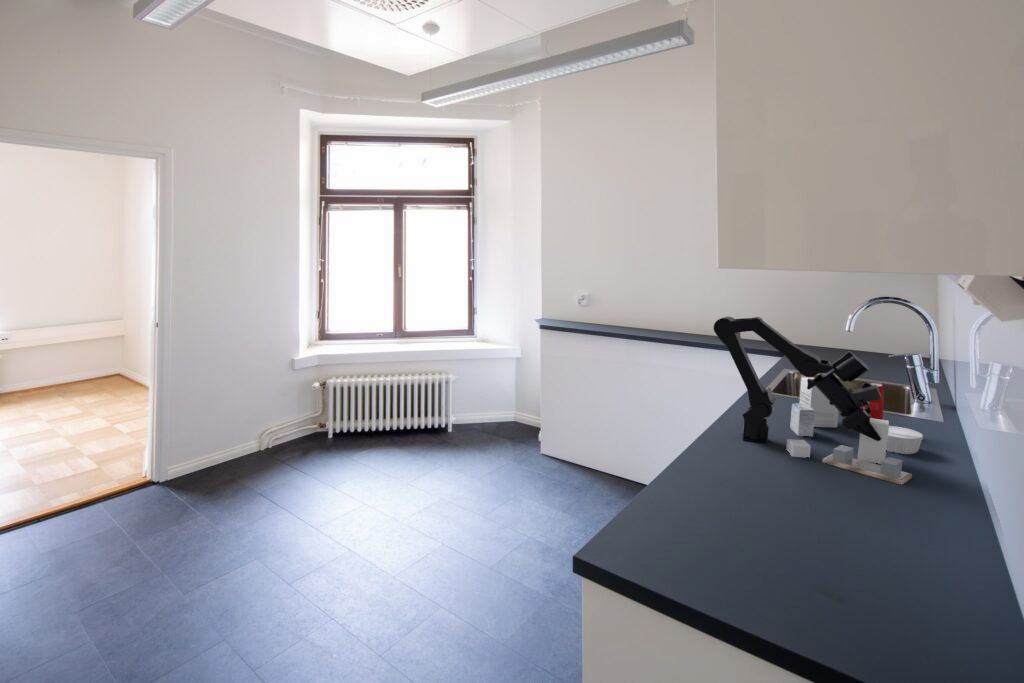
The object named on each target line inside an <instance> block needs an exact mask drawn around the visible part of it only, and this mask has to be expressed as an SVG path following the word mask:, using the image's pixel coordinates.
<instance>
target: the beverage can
mask: <svg viewBox="0 0 1024 683" xmlns="http://www.w3.org/2000/svg"><path fill="white" fill-rule="evenodd" d="M869 383H870V384H871V385H873V386H874V385H877V387H878V389H879V391H880V394H881V399H880V400H873V401H869V405H864V406H863V407H864V408H867V407H869V406H870V416H871V417H872V418H874V419H881V420H884V397H885V396H884V392H885V389H884V386H883V384H882V383H880V382H879V383H877V382H869Z"/></svg>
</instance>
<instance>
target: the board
mask: <svg viewBox="0 0 1024 683" xmlns="http://www.w3.org/2000/svg"><path fill="white" fill-rule="evenodd" d="M831 455H833V453H831V454H830V455H827V456H825V457H823V458H822V463H824V464H826V463H827V465H831V466H834V467H838V468H840V469H844V470H848V471H852V472H855V473H859V474H862V475H864V476H869V477H872V478H876V479H879V480H883V481H886V482H890V483H893V484H898V485H900V484H901V485H900V486H903V485H904V484H905V483H907V482H908V481H909V480H911V479H912V478H913V474H912V473H909V472H908V473H909V474H908V475H907V476H905V477H904V478H903V479H901V480H899V479H895V478H892V477H888V476H885V475H881V474H877V473H874V472H870V471H867V470H863V469H860V468H856V467H852V466H849V465H845V464H842V463H838V462H835V461H831V460H827V459H826V458H827V457H829V456H831ZM902 484H903V485H902Z"/></svg>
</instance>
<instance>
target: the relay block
mask: <svg viewBox="0 0 1024 683" xmlns="http://www.w3.org/2000/svg"><path fill="white" fill-rule="evenodd" d="M785 446H786V447H785V448H786V449H785V451H786V450H787V451H788V452H789V453H790V454H789V453H788V452H787V451H786V452H787V453H788V454H789V455H790V456H791V457H792V458H794V457H795V458H806V457H809V459H810V458H811V448H812V446H811V445H810V444H809V443H808V442H807V441H806V440H804V439H790V438H789V439H788V438H787V439H786V445H785Z"/></svg>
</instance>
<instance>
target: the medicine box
mask: <svg viewBox="0 0 1024 683" xmlns="http://www.w3.org/2000/svg"><path fill="white" fill-rule="evenodd" d="M814 418H815V410H814V409H812V408H811V407H810V406H808V405H807V404H801V403H800V402H797V403H792V404H791V413H790V427H789V428H791V429H790V430H791V431H792V432H793V433H794V434H795V435H797V437H803V436H809V437H808V438H813V437H814V429H815V427H814ZM810 436H811V437H810Z"/></svg>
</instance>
